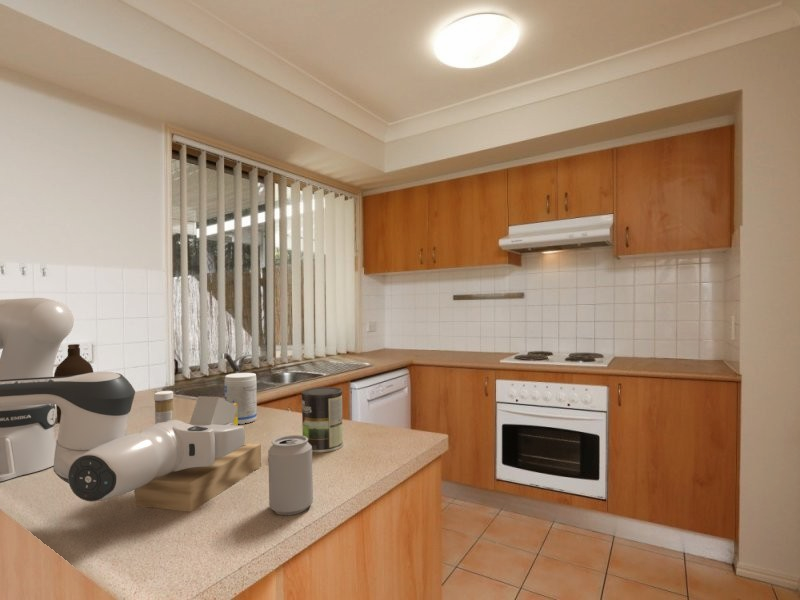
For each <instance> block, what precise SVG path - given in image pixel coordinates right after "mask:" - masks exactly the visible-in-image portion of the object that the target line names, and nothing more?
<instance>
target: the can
mask: <svg viewBox="0 0 800 600" xmlns="http://www.w3.org/2000/svg"><path fill="white" fill-rule="evenodd" d="M307 441H308V438H307V437H305V436H303V434H302V435H301V434H300V435H299V434H291V435H289V434H288V435H283V436H279V437H276V438H275V439H273V440H272V441H271V444H272V445H271V446H270V448H269V449H268V451H267V455H268V456H267V457H268V459H267V460H268V465H267V466H268V498H269V499H268V505H269V508H270V509H271V510H272V511H274V512H275V514H277V515H280V516H282V515H283V516H285V515H286V516H291V515H297V514H300V513H302V512H304V511H306V510H307V509H308V508H309V506H310V505H311V504H312V503H313V501H314V481H313V480H314V479H313V452H312V446H311V445H310V444H309V443H308V442H307Z"/></svg>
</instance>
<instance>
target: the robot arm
mask: <svg viewBox="0 0 800 600" xmlns="http://www.w3.org/2000/svg"><path fill="white" fill-rule="evenodd" d="M73 327H74V315H73V313H72V310H71V309H70V308H69V307H68V306H66V304H64V303H62V302H59V301H56V300H53V299H49V298H44V297H28V298H25V297H24V298H10V299H9V298H8V299H0V350H2V352H1V355H0V482H3V481H8V480H10V479H13V478H16V477H20V476H23V475H24V476H25V475H28V474H32V473H36V472H39V471H42V470H45V469H48V468H50V467H53V472H54V473H55V474H56V476H57V477H59V478H60V479H61V480H62V481H63V482H65V483H67V484H68V486H69V487H70V489H71V491H72V492H73V494H74V495H75V496H77V498H79V499H80V500H82V501H86V502H89V503H90V502H91V503H96V502H101V501H106V500H110V499H113V498H118V497H120V496H123V495H125V494H128V493H130V492H133V491H135V489H137V488H140V487H142V486H144V485H146V484H147V483H149V482H150V481H151V480H152V479H153V478H156V477H161V476H164V475H166V474H168V473H170V472H172V471H174V472H176V471H179V470H183V469H187V468H197V467H207V466H210V465H212V464H213V463H214V461H215V459H216V458H220V457H223V456H226V455H228V454H229V453H231V452H233V451H235V450H237V449H238V448H240V447H241V446H243V444H244V443H246V440H245V439H246V431H245V427H244V426H243V425H238V426H237V425H234V423H225V424H223V425H217V424H211V425H205V424H189V423H190V422H183V421H182V420H179V419H173V420H170V421H167V422H161V423H157V424H155V423H154V424H152V425H150V426H147V427H145V428H143V429H141V430H140V431H139V432H134V433H128V434H127V429H128V423H129V418H130V412H131V410H132V406H133V403H134V399H135V395H136V390H135V388H134V387H133V385H132V384H131V382H130V381H129V380H128V379H127V378H126V377H125V376H124V375H123V374H121V373H118V372H112V371H95V372H94V371H93V373H87V374H79V375H70V376H57V377H54V373H53V372H54V366H55V362H56V358H57V354H58V352H59V348H60V347H61V345H62V343H63V341H64V340H65V339H66V338H67V336H69V335H70V333H71V331H72V329H73ZM56 405H57V406H59V408H60V409H61V418H60V422H59V425H58V433H57V437H56V433H55V425H56V419H57V412H56Z"/></svg>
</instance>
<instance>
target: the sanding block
mask: <svg viewBox="0 0 800 600" xmlns="http://www.w3.org/2000/svg"><path fill="white" fill-rule="evenodd" d="M196 399H197V400H196V403H195V406H194V409H193V412H192V414H191V418H190V421H189V422H188V423H189V424H205V425H211V424H217V425H223V424H225V423H233V422H234V419H235V415H236V412H237V408H238V406H236V405H234V404H232V403H230V402H228V401H226V400H225V398H222V397H220V396H205V395H204V396H202V395H200V396H199V395H198V397H197V398H196Z"/></svg>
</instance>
